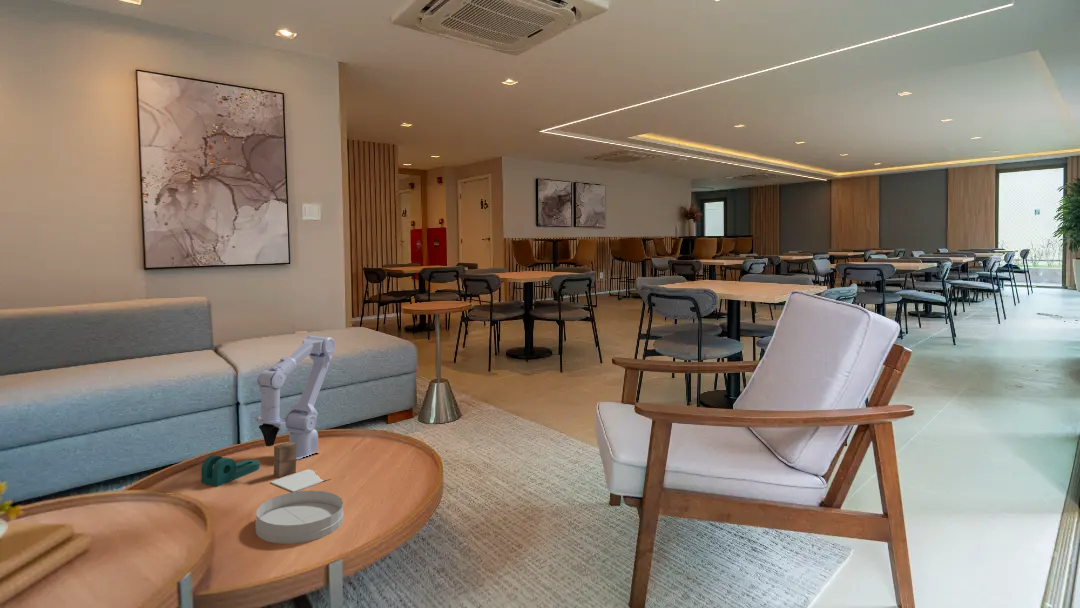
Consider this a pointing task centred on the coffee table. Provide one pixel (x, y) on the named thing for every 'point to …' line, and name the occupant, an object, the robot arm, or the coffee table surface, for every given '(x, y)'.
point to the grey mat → (298, 481)
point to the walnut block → (284, 459)
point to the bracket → (225, 470)
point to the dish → (299, 517)
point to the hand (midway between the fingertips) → (269, 445)
